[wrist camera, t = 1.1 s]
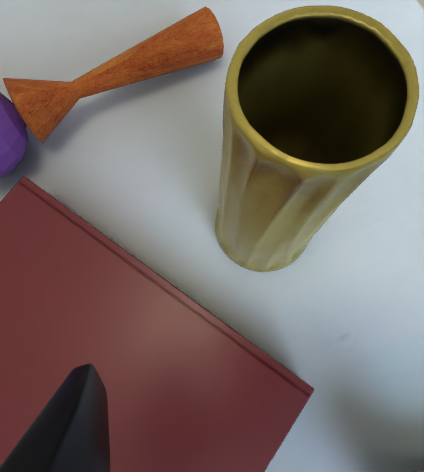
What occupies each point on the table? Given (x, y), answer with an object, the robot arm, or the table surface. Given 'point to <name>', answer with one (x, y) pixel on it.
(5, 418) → the book
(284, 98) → the vase
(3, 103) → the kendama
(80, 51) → the table surface
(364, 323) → the table surface
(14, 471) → the robot arm
